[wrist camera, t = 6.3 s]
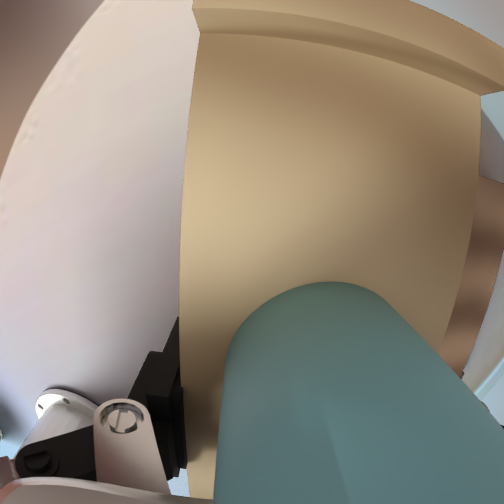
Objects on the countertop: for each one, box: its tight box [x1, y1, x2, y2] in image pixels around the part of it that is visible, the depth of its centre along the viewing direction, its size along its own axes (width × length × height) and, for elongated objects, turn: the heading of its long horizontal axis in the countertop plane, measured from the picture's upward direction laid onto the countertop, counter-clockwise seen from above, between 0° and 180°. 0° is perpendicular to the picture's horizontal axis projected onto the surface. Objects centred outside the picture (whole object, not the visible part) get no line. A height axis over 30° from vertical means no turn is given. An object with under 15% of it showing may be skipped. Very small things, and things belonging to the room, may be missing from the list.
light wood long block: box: [179, 0, 504, 499], centre depth 9 cm, size 20×6×6 cm, turn 175°
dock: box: [438, 176, 504, 379], centre depth 23 cm, size 24×15×3 cm, turn 175°
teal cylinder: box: [213, 282, 504, 504], centre depth 4 cm, size 4×4×5 cm
